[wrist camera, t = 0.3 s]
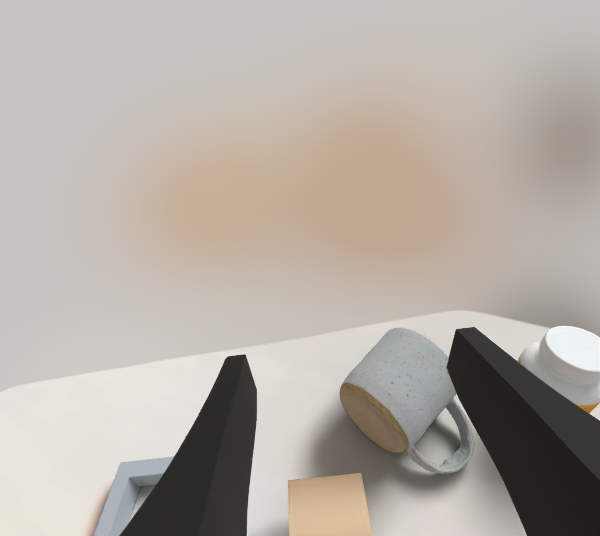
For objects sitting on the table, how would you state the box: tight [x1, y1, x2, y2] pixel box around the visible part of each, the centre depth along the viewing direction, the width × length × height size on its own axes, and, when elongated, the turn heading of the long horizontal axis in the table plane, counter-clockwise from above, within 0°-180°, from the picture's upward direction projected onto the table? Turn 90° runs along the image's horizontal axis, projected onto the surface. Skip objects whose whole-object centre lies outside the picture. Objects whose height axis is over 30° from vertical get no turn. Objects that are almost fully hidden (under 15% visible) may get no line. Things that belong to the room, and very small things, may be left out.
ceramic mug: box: [340, 328, 474, 474], centre depth 26 cm, size 11×8×8 cm
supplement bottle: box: [517, 326, 600, 413], centre depth 25 cm, size 5×5×10 cm
